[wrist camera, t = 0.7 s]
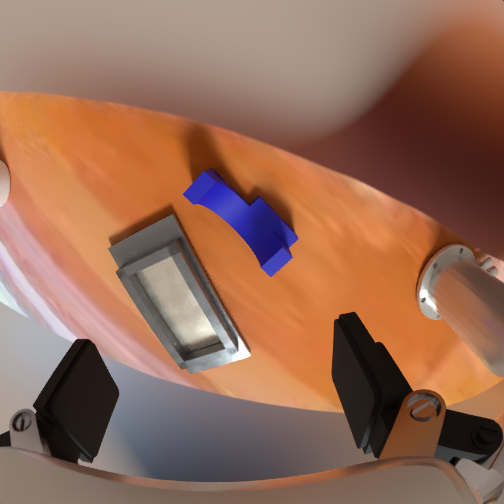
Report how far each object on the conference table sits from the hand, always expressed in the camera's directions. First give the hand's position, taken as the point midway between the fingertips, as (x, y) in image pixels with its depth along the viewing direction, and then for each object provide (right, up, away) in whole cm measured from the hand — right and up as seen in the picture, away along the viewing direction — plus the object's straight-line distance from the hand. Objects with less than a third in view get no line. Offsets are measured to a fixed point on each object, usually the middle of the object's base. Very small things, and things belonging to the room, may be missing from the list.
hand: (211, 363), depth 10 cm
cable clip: (+1, +9, +23) cm, 25 cm away
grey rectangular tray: (-8, -3, +27) cm, 28 cm away
